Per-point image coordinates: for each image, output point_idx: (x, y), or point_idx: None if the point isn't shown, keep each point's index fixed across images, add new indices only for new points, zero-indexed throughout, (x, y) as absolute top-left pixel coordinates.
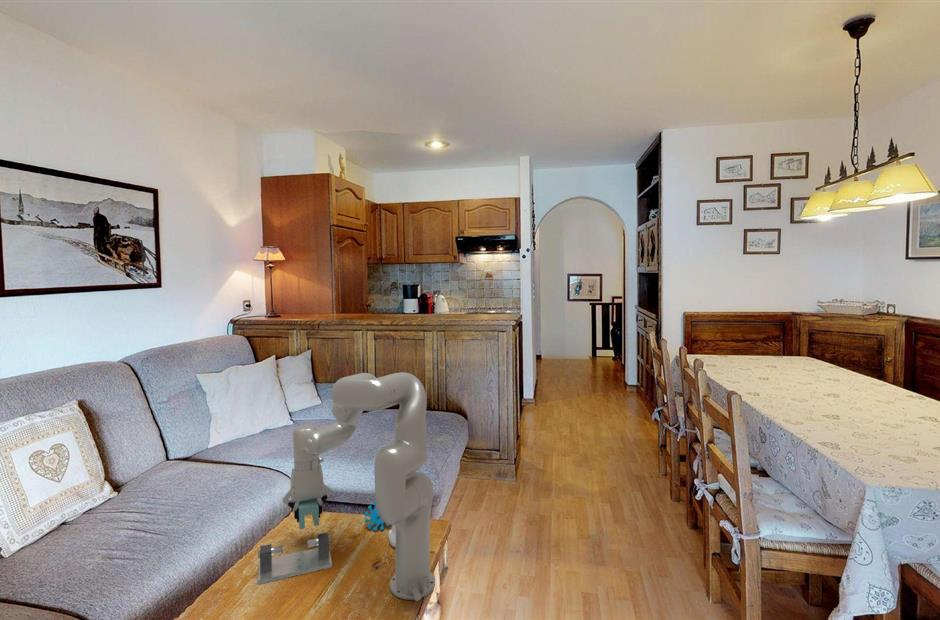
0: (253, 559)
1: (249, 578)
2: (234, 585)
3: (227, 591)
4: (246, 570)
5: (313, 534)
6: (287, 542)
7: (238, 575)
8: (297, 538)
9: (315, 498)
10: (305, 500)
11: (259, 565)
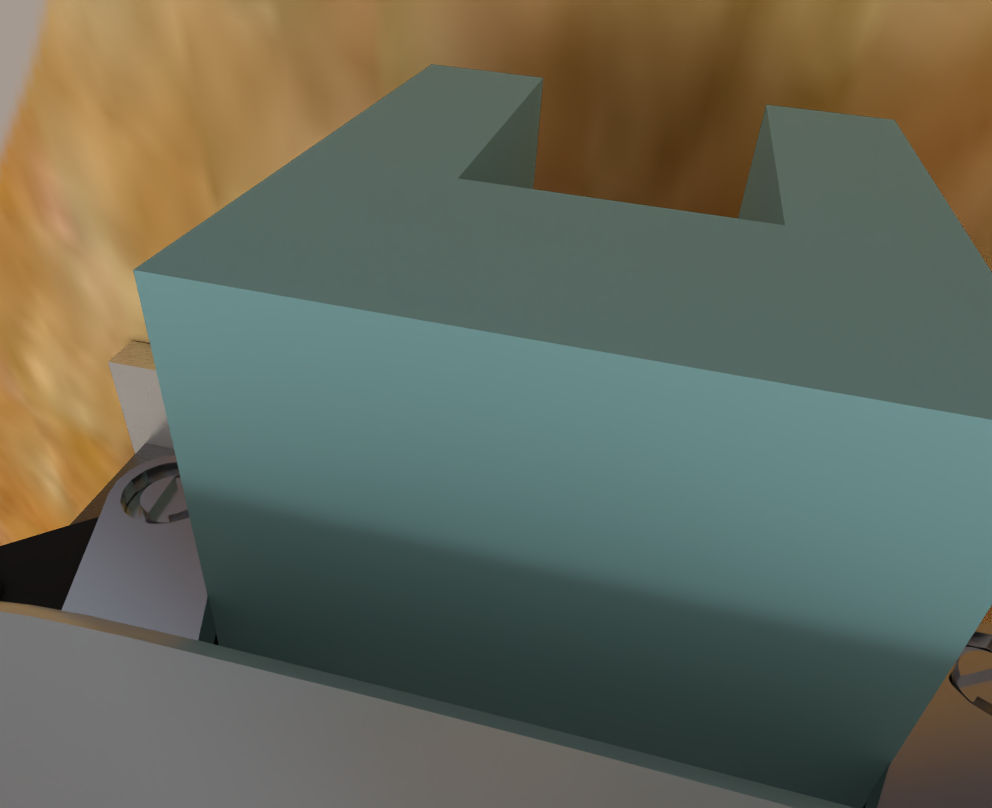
0: (51, 229)
1: (110, 471)
2: (32, 487)
3: (13, 517)
4: (50, 366)
5: (765, 5)
6: (369, 51)
7: (12, 396)
8: (509, 5)
9: (810, 775)
10: (442, 688)
11: (133, 435)
